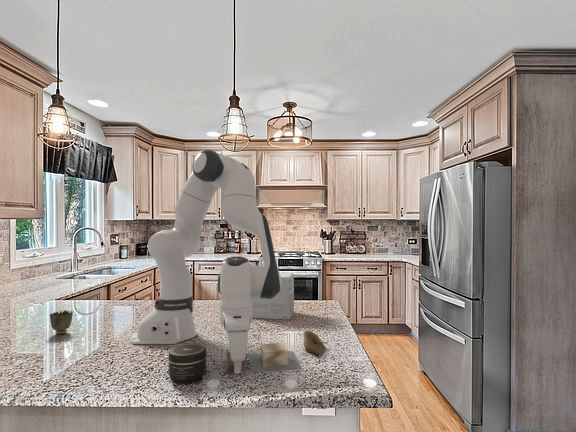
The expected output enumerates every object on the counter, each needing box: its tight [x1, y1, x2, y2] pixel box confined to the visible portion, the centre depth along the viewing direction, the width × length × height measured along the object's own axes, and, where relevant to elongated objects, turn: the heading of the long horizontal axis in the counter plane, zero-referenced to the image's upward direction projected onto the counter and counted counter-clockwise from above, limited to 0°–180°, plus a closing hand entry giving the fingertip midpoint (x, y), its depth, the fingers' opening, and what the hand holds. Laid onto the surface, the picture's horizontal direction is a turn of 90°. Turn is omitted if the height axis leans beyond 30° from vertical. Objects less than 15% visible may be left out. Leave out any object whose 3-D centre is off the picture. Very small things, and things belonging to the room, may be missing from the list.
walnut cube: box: [226, 351, 247, 374], centre depth 103 cm, size 5×5×5 cm
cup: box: [49, 309, 73, 336], centre depth 140 cm, size 8×7×8 cm
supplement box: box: [251, 272, 295, 320], centre depth 165 cm, size 17×13×18 cm
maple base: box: [260, 342, 288, 367], centre depth 108 cm, size 7×7×4 cm
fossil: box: [303, 330, 326, 357], centre depth 117 cm, size 9×4×10 cm
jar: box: [167, 343, 208, 385], centre depth 100 cm, size 10×10×8 cm
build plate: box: [247, 350, 303, 374], centre depth 108 cm, size 14×14×1 cm
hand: (236, 365), depth 104 cm, fingers open, 8 cm apart
